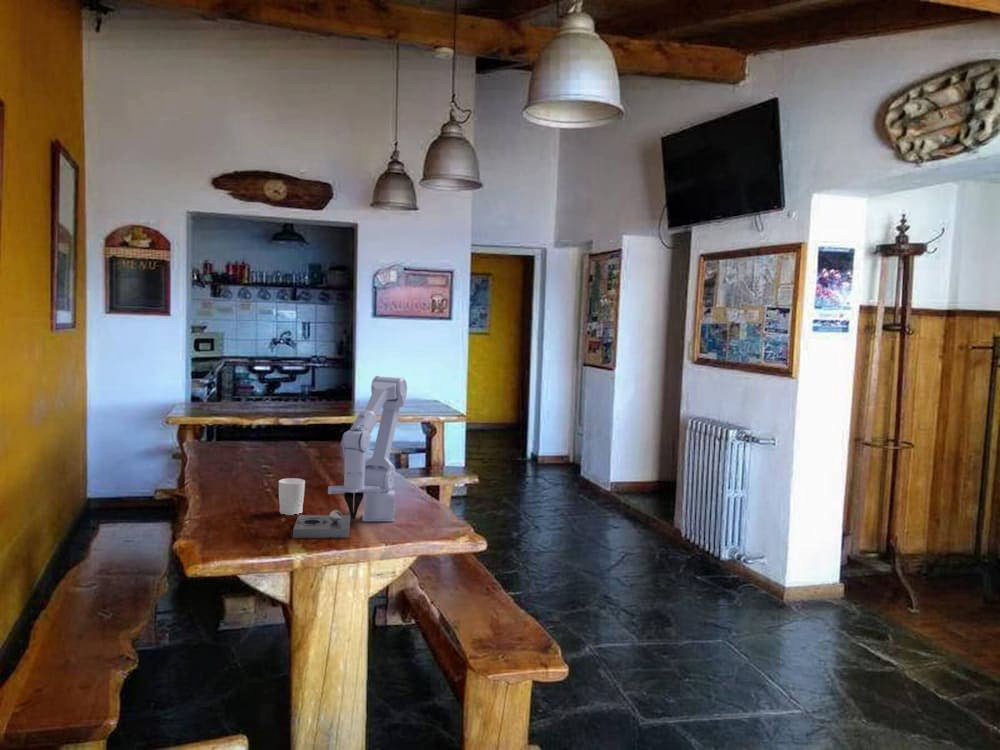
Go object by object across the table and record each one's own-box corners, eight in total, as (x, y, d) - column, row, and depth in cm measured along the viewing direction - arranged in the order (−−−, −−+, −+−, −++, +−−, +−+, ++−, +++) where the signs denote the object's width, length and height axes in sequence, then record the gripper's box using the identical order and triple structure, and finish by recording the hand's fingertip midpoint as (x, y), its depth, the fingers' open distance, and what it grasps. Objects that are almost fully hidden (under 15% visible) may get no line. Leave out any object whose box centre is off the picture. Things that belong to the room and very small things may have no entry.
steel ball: (341, 520, 217) (342, 508, 217) (341, 523, 214) (341, 511, 214) (329, 520, 217) (330, 508, 216) (328, 523, 213) (329, 511, 213)
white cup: (277, 516, 228) (278, 483, 227) (277, 509, 235) (278, 478, 235) (304, 515, 230) (305, 483, 229) (303, 509, 238) (304, 478, 237)
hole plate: (350, 523, 224) (350, 515, 223) (348, 538, 209) (348, 529, 209) (298, 523, 221) (298, 515, 221) (292, 538, 206) (293, 529, 206)
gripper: (327, 474, 210) (326, 522, 211) (380, 475, 212) (378, 522, 213) (329, 469, 217) (328, 515, 218) (380, 470, 219) (378, 515, 220)
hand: (353, 518), depth 216 cm, fingers closed
